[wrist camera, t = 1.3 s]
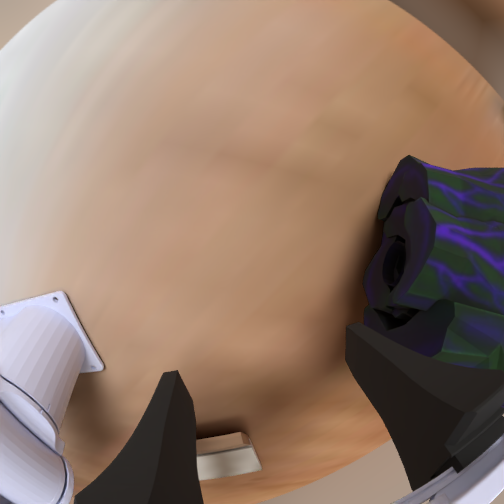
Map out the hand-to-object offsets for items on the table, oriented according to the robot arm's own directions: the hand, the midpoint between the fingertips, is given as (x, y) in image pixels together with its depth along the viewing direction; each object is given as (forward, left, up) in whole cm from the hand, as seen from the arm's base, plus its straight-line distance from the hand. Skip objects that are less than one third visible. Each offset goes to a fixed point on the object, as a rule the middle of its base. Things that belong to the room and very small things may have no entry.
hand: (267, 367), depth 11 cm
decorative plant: (+21, -4, -10) cm, 24 cm away
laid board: (-8, -26, -10) cm, 29 cm away
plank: (-8, -17, -8) cm, 21 cm away
